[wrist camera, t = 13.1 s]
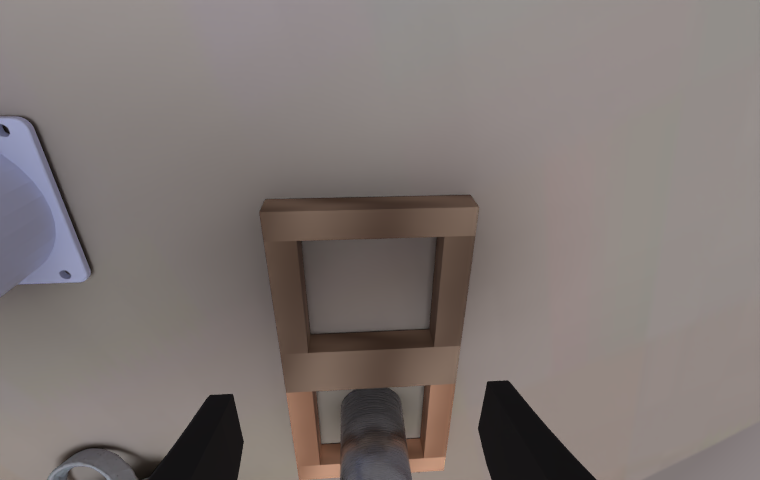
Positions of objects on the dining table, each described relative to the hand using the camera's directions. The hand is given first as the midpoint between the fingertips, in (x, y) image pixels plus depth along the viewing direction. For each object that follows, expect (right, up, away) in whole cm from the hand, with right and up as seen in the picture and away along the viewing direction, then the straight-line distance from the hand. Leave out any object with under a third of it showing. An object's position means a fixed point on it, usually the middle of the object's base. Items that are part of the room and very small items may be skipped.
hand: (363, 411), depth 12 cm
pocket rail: (0, -2, +13) cm, 13 cm away
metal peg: (0, -6, +15) cm, 16 cm away
